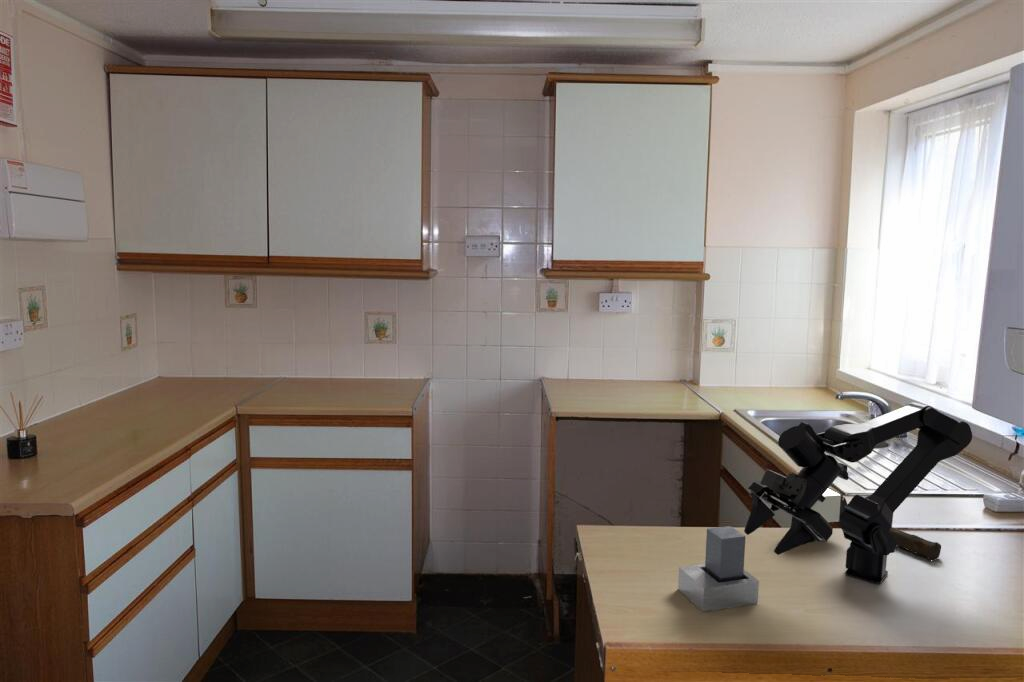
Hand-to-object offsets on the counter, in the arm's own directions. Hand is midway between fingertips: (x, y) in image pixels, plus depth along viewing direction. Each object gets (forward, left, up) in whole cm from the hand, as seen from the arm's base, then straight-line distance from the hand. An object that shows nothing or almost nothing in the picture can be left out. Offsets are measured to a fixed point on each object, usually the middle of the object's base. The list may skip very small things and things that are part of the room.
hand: (760, 542), depth 136 cm
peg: (+4, +7, -10) cm, 12 cm away
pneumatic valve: (0, -33, -10) cm, 35 cm away
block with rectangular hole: (+5, +8, -9) cm, 13 cm away
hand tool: (-14, -41, -10) cm, 45 cm away
